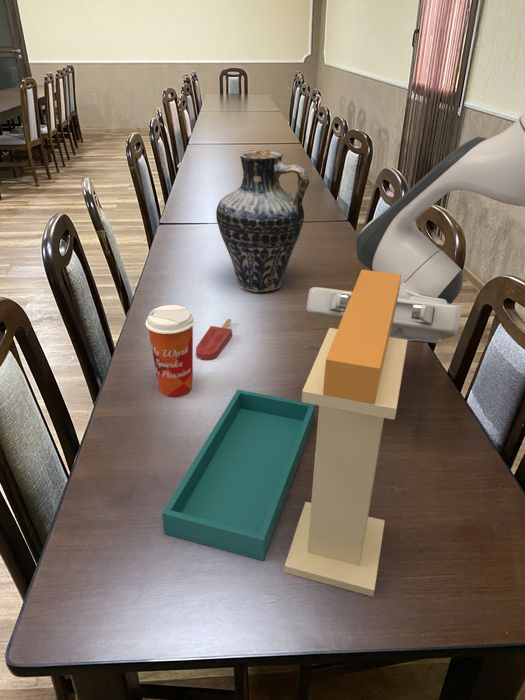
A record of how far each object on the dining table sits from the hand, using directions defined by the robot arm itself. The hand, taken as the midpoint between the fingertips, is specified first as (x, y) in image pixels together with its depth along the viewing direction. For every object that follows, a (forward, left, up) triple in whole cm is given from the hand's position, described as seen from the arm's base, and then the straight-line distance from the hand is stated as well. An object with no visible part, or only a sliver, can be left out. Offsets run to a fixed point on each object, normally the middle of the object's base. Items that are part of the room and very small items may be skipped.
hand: (379, 305), depth 66 cm
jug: (+14, -59, -24) cm, 65 cm away
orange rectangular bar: (+4, +14, +3) cm, 14 cm away
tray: (+16, +4, -23) cm, 29 cm away
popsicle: (+23, -32, -24) cm, 46 cm away
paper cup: (+29, -16, -24) cm, 40 cm away
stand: (+6, +17, -23) cm, 30 cm away
